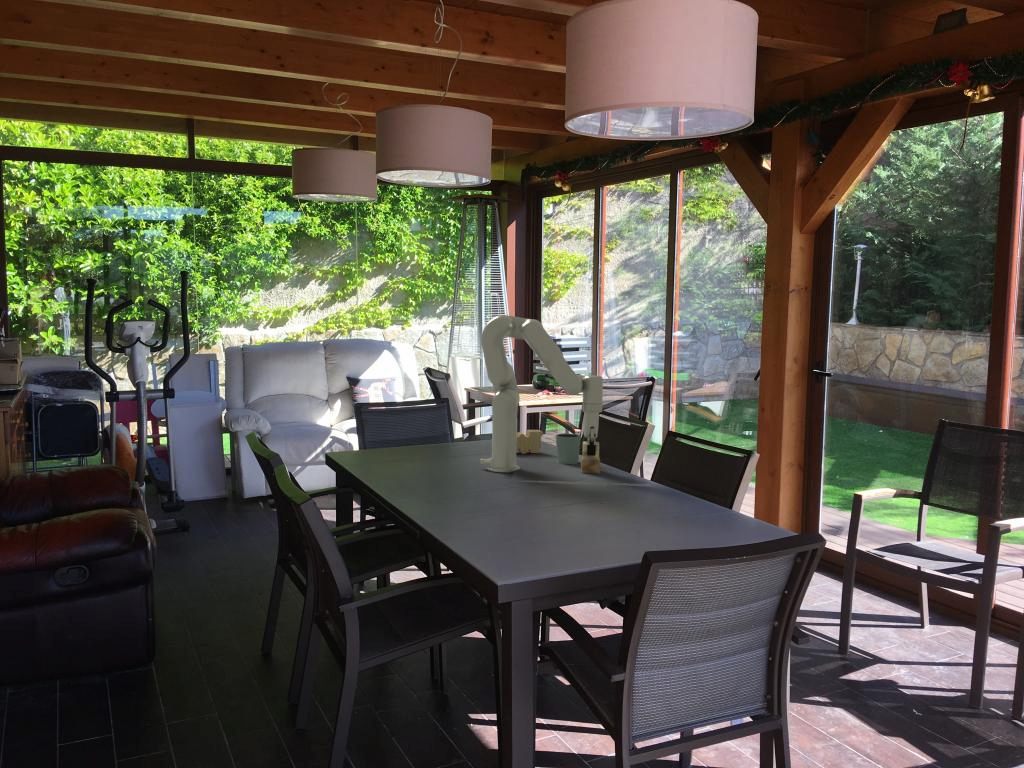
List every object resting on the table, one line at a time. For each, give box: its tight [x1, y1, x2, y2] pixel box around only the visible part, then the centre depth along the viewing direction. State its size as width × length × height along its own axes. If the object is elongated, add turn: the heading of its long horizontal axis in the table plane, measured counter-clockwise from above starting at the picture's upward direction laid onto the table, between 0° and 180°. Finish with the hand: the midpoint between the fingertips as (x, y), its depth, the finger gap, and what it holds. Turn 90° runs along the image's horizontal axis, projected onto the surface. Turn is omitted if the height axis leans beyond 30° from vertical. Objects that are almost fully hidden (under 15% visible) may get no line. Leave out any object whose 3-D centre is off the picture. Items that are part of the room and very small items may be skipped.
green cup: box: [555, 433, 581, 465], centre depth 356 cm, size 10×10×12 cm
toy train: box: [516, 429, 544, 455], centre depth 381 cm, size 6×17×10 cm, turn 105°
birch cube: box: [582, 441, 600, 460], centre depth 336 cm, size 6×6×6 cm
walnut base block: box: [580, 456, 601, 474], centre depth 337 cm, size 7×7×5 cm
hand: (590, 453), depth 336 cm, fingers open, 6 cm apart
